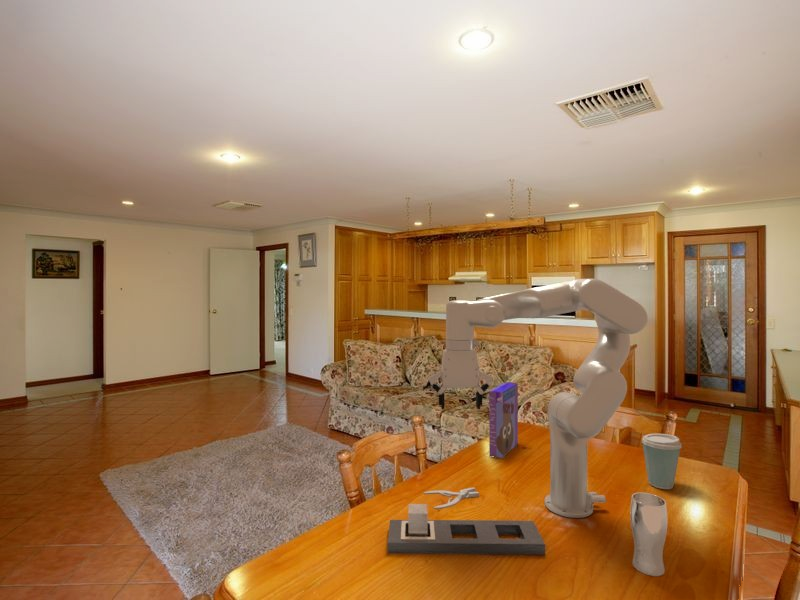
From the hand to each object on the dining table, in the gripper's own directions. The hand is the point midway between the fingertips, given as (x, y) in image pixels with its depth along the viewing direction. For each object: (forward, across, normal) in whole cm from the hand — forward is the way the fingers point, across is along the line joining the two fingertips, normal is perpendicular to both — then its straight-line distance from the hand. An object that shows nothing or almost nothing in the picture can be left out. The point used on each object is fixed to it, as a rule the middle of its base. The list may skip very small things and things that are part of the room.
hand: (460, 407), depth 119 cm
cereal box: (+28, -21, -44) cm, 57 cm away
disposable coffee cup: (+28, -63, -16) cm, 71 cm away
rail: (+28, +1, +15) cm, 32 cm away
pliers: (+29, +1, -7) cm, 30 cm away
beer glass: (+28, -38, +24) cm, 53 cm away
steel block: (+28, +12, +15) cm, 34 cm away
